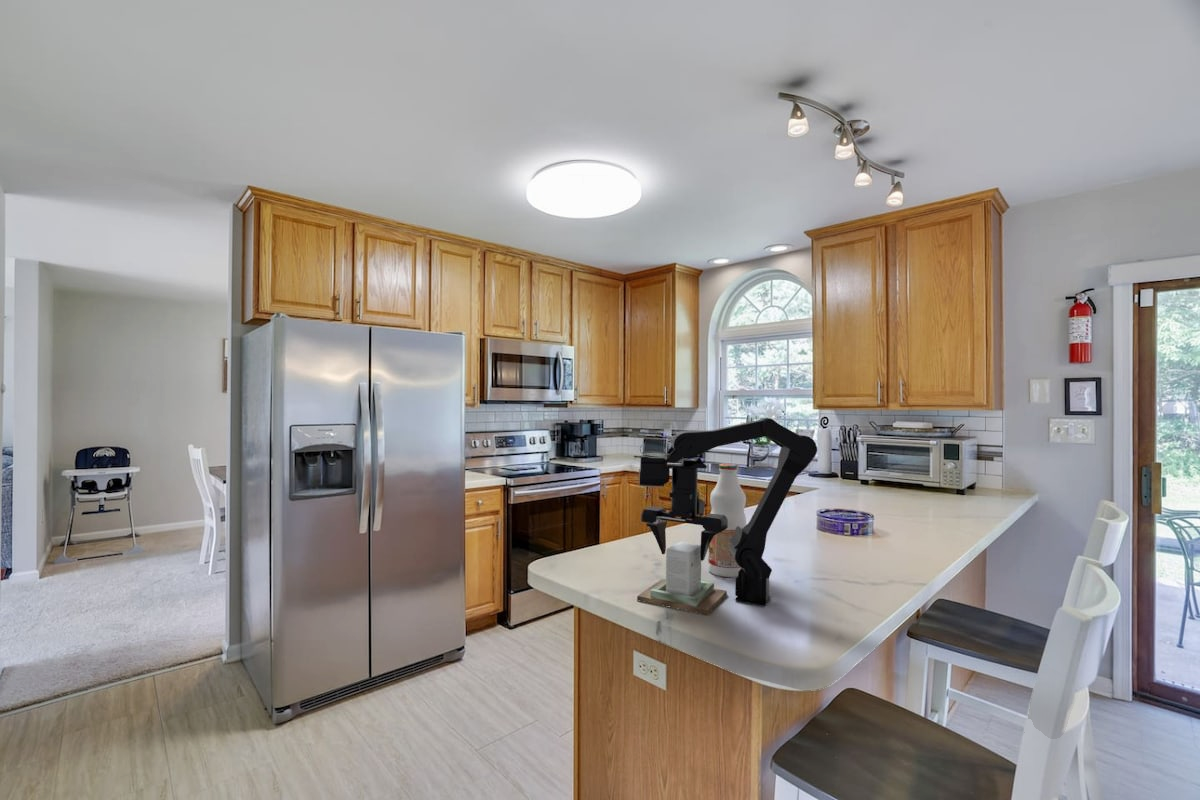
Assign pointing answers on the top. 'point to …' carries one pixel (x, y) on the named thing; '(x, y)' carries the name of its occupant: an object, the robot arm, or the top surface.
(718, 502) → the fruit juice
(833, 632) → the top surface
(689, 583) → the small box
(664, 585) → the board
